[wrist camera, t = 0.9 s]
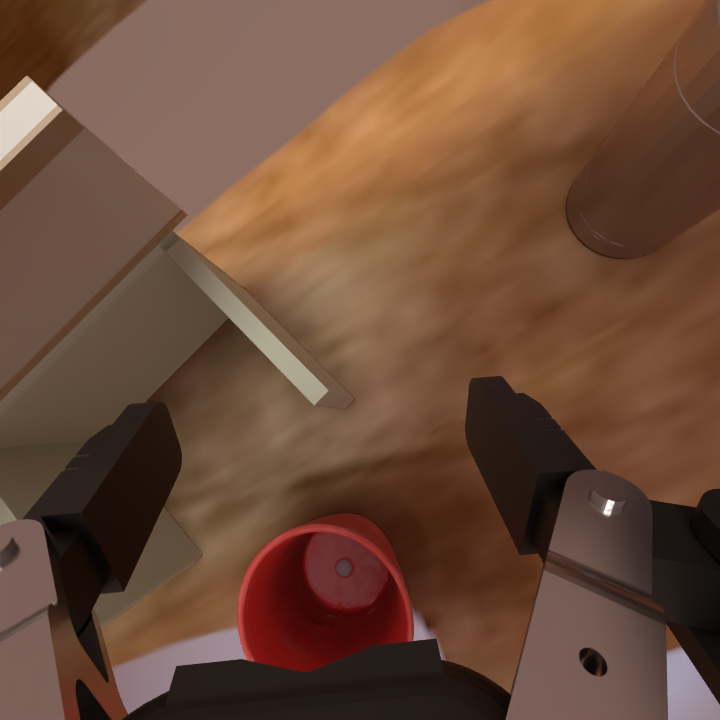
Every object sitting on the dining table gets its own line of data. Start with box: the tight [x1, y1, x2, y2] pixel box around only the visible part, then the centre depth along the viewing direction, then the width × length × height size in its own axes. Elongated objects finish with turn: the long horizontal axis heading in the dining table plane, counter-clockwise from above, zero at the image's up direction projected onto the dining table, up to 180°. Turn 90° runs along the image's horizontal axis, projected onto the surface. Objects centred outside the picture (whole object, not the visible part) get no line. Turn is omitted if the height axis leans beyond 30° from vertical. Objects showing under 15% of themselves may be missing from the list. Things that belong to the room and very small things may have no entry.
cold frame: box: [0, 231, 354, 629], centre depth 30 cm, size 20×15×12 cm
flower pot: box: [237, 513, 414, 672], centre depth 28 cm, size 11×11×10 cm
